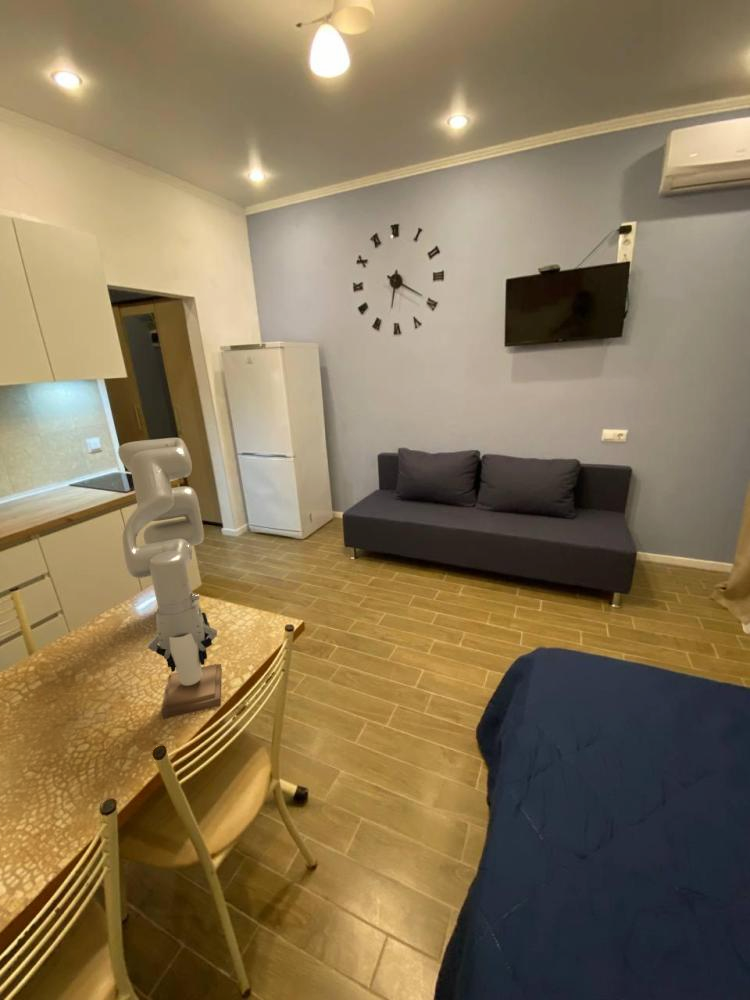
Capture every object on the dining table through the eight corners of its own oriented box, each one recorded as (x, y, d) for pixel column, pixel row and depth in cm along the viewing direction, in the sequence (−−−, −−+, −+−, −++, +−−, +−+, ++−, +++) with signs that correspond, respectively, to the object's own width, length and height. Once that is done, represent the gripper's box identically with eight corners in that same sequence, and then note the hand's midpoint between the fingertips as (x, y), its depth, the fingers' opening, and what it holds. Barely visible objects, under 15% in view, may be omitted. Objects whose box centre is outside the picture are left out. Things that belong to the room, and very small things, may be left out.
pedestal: (170, 681, 112) (168, 672, 111) (221, 669, 115) (220, 660, 114) (163, 719, 100) (160, 709, 99) (220, 704, 104) (219, 695, 103)
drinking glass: (195, 690, 103) (185, 639, 98) (171, 687, 104) (159, 636, 99) (211, 671, 109) (202, 622, 104) (187, 667, 110) (177, 619, 105)
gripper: (215, 587, 105) (225, 647, 111) (138, 601, 100) (153, 662, 106) (214, 604, 98) (224, 666, 104) (131, 619, 93) (147, 683, 99)
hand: (188, 663), depth 105 cm, fingers closed on drinking glass, 6 cm apart
